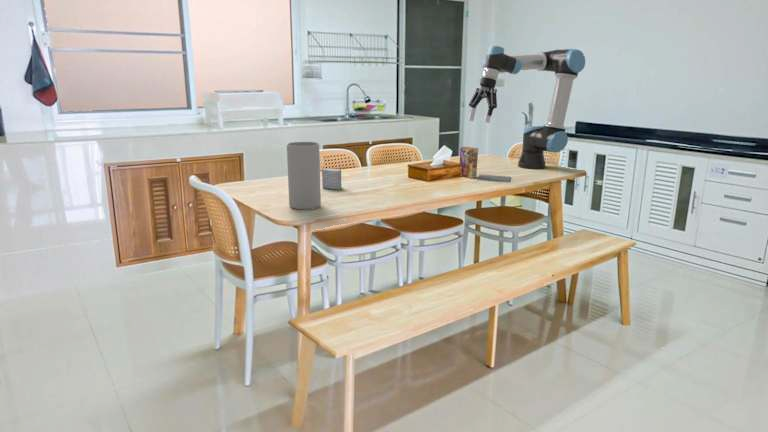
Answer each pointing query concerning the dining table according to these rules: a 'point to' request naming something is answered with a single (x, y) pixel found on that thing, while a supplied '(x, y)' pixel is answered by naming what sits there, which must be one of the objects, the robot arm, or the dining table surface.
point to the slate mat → (494, 178)
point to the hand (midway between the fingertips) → (478, 121)
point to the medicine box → (331, 178)
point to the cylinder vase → (303, 175)
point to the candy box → (468, 161)
